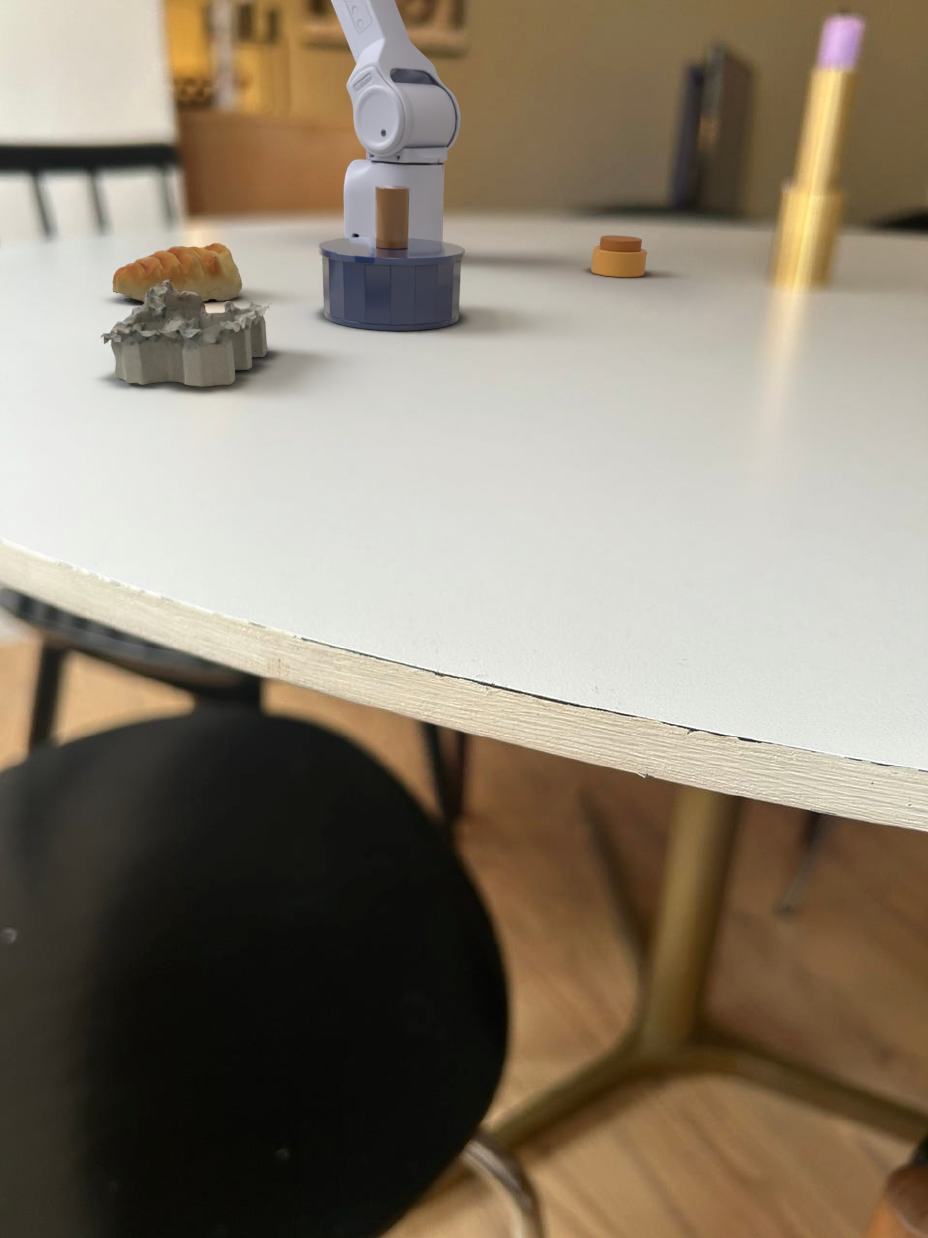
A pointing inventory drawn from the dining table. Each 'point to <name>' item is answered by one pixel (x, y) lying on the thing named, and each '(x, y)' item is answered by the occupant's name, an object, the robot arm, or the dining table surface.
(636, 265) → the stepped round knob
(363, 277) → the pot
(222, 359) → the egg carton
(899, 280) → the dining table surface
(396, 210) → the lid
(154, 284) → the pastry
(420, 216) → the robot arm
